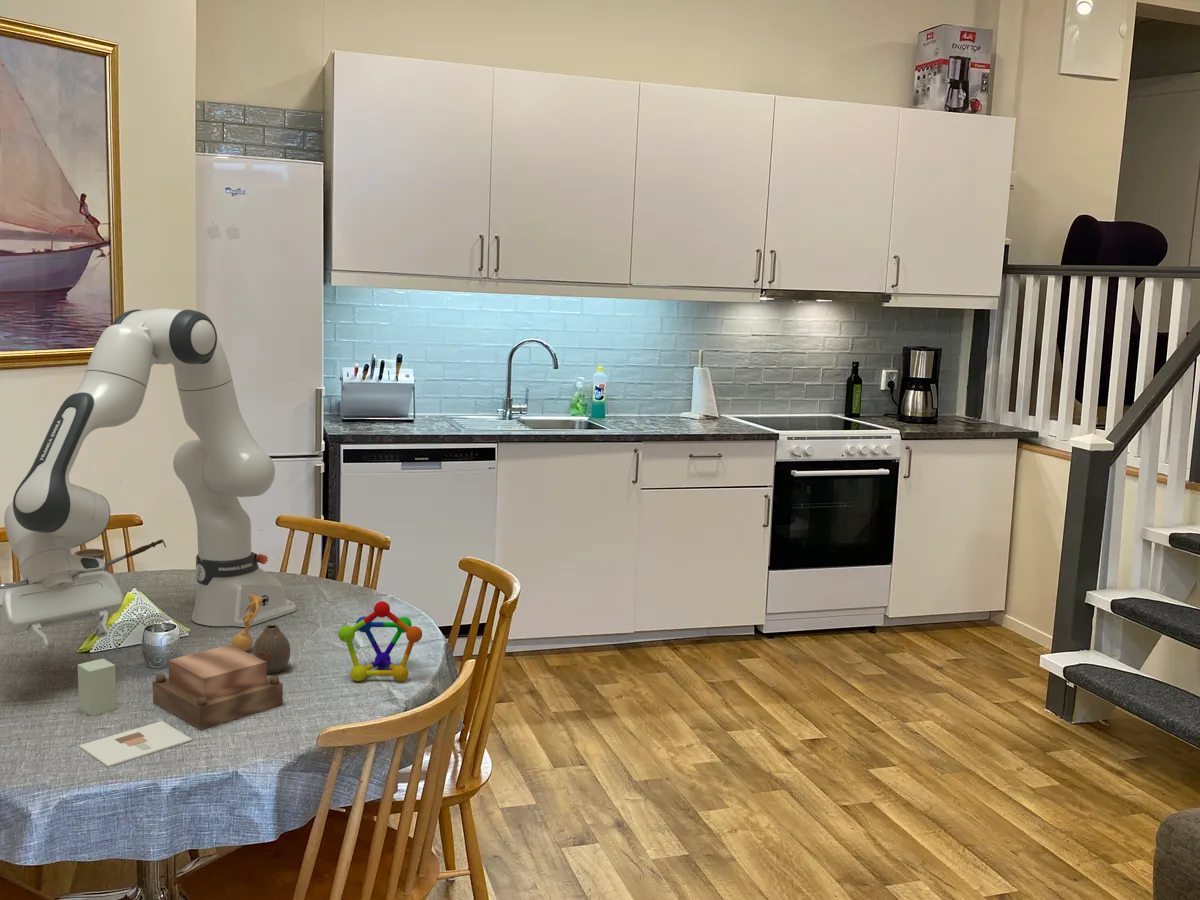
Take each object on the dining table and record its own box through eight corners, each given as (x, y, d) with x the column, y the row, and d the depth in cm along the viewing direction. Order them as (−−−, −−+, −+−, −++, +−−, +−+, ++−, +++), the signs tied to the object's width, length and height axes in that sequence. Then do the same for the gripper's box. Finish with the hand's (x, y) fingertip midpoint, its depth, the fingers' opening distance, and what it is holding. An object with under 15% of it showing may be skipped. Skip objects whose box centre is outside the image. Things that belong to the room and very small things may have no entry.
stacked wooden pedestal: (234, 679, 207) (234, 639, 206) (282, 704, 197) (282, 662, 195) (153, 702, 195) (152, 659, 194) (199, 730, 185) (199, 684, 183)
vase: (297, 666, 215) (297, 623, 214) (276, 678, 209) (276, 634, 207) (267, 661, 217) (267, 618, 216) (245, 672, 211) (245, 629, 209)
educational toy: (409, 663, 222) (417, 592, 220) (417, 688, 210) (426, 612, 208) (330, 661, 217) (338, 588, 215) (335, 686, 205) (343, 609, 203)
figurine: (229, 645, 225) (229, 589, 223) (260, 643, 227) (259, 587, 225) (234, 659, 217) (233, 601, 215) (265, 656, 220) (265, 598, 218)
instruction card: (162, 722, 187) (162, 720, 187) (192, 740, 180) (192, 738, 180) (79, 747, 176) (78, 744, 176) (107, 767, 170) (107, 764, 170)
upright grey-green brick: (104, 701, 195) (103, 658, 193) (116, 708, 192) (115, 665, 190) (79, 708, 191) (77, 664, 190) (90, 715, 188) (89, 671, 187)
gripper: (-6, 576, 189) (19, 645, 184) (111, 557, 205) (137, 620, 200) (-15, 595, 193) (9, 663, 188) (101, 575, 208) (126, 638, 203)
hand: (76, 641), depth 194 cm, fingers open, 8 cm apart
